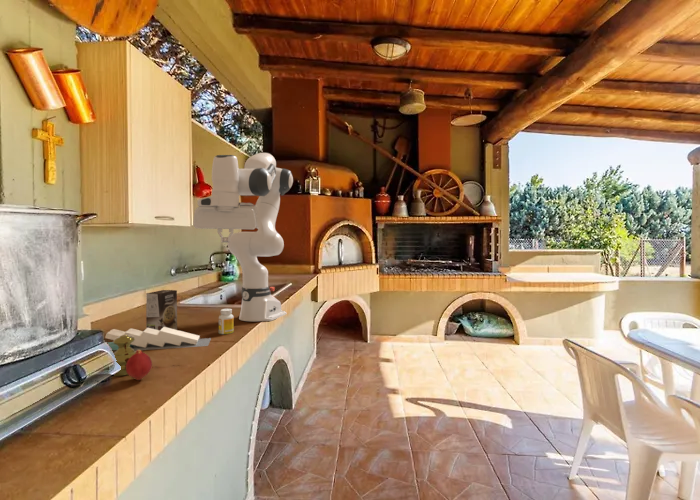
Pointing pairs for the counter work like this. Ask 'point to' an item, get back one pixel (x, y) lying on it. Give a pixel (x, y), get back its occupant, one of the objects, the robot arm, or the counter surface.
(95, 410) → the counter surface
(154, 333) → the domino
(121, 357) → the olive waisted piece
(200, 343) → the slate board
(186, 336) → the domino
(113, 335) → the domino
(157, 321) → the coffee box
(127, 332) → the domino
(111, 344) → the domino
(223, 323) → the supplement bottle
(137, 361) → the onion
